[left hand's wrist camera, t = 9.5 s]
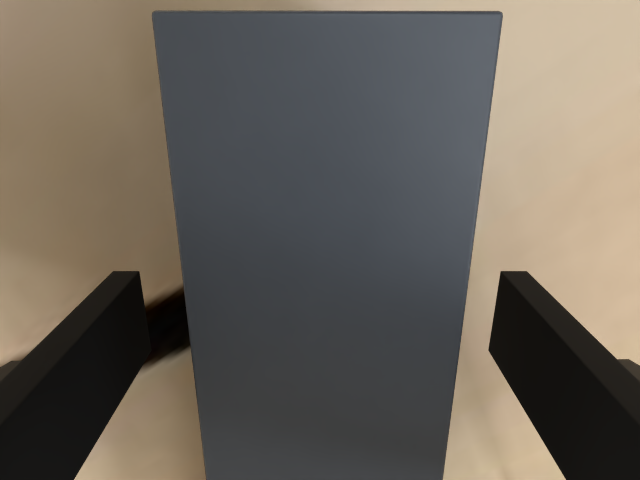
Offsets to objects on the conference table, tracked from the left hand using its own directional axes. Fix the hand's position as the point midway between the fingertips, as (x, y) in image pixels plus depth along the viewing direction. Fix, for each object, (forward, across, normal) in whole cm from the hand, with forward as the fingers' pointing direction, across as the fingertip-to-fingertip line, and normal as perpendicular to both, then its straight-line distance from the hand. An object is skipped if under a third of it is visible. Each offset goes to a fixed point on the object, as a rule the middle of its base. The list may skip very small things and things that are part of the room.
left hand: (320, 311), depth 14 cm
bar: (+3, 0, -26) cm, 27 cm away
